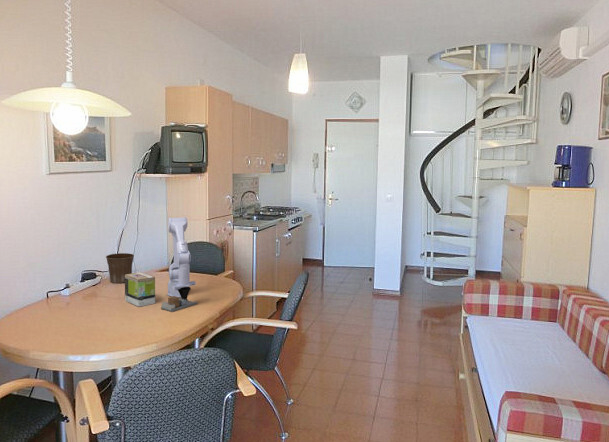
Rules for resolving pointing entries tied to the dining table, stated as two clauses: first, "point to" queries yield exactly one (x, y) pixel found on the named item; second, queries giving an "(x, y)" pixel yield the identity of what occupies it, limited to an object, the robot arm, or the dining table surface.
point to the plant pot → (119, 266)
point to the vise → (171, 307)
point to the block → (174, 300)
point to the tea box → (140, 289)
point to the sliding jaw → (182, 302)
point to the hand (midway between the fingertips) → (184, 301)
